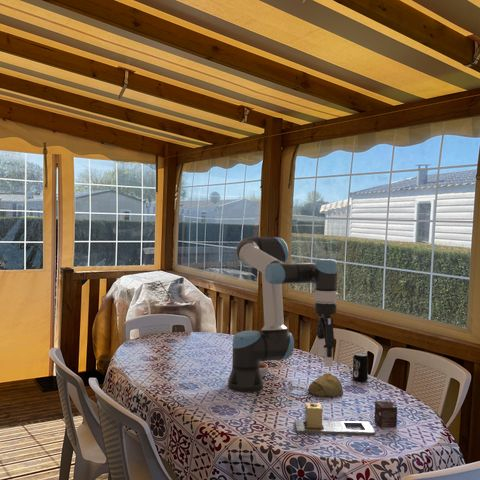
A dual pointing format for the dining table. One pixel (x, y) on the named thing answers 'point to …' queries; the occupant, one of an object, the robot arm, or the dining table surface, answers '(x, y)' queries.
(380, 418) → the box
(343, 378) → the dining table surface
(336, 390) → the pastry
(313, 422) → the gold block with hole
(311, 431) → the grey board with holes
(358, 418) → the dining table surface
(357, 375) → the beverage can
